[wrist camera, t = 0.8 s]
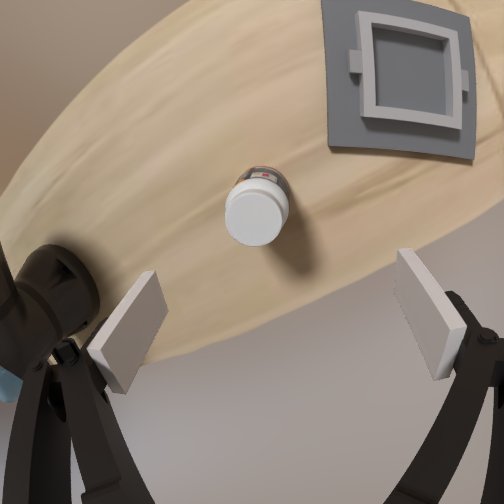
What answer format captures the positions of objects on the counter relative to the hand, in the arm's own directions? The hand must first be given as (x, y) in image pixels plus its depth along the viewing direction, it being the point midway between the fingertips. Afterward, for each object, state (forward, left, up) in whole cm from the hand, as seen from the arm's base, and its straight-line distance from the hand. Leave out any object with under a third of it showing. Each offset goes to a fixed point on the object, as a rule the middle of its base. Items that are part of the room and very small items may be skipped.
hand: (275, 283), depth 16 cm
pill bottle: (-2, 0, -20) cm, 20 cm away
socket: (+14, +14, -19) cm, 28 cm away
